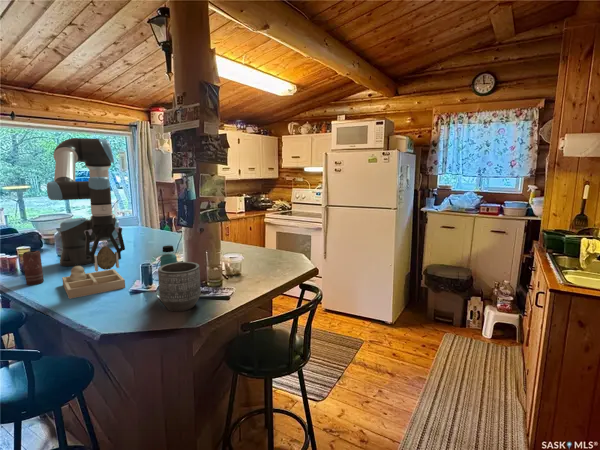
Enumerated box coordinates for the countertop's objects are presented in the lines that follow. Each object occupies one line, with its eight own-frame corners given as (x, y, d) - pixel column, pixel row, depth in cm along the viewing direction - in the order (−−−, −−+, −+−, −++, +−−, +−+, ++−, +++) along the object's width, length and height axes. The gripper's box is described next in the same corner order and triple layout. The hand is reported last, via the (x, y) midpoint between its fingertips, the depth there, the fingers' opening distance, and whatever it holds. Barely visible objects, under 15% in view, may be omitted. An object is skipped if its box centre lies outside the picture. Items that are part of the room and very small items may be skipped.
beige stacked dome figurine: (69, 283, 149) (67, 265, 148) (85, 280, 153) (84, 263, 151) (71, 287, 144) (69, 268, 143) (88, 284, 148) (86, 266, 147)
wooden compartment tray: (63, 285, 149) (62, 277, 149) (114, 276, 162) (113, 268, 161) (69, 298, 134) (68, 290, 134) (125, 287, 147) (124, 279, 146)
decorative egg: (96, 272, 141) (94, 248, 140) (97, 268, 147) (95, 245, 146) (116, 270, 144) (114, 246, 143) (116, 266, 151) (114, 243, 149)
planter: (191, 296, 138) (189, 259, 135) (207, 306, 127) (206, 267, 125) (154, 305, 128) (152, 266, 126) (169, 317, 118) (166, 275, 115)
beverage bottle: (164, 291, 142) (161, 244, 139) (181, 291, 142) (178, 243, 139) (159, 297, 136) (156, 247, 132) (176, 297, 136) (174, 247, 133)
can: (47, 281, 154) (44, 250, 152) (32, 286, 148) (28, 254, 146) (38, 280, 156) (34, 249, 154) (23, 284, 150) (18, 253, 148)
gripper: (74, 217, 133) (80, 275, 137) (131, 213, 146) (135, 266, 149) (72, 215, 139) (77, 271, 142) (126, 212, 151) (130, 263, 155)
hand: (107, 268), depth 146 cm, fingers closed on decorative egg, 7 cm apart
